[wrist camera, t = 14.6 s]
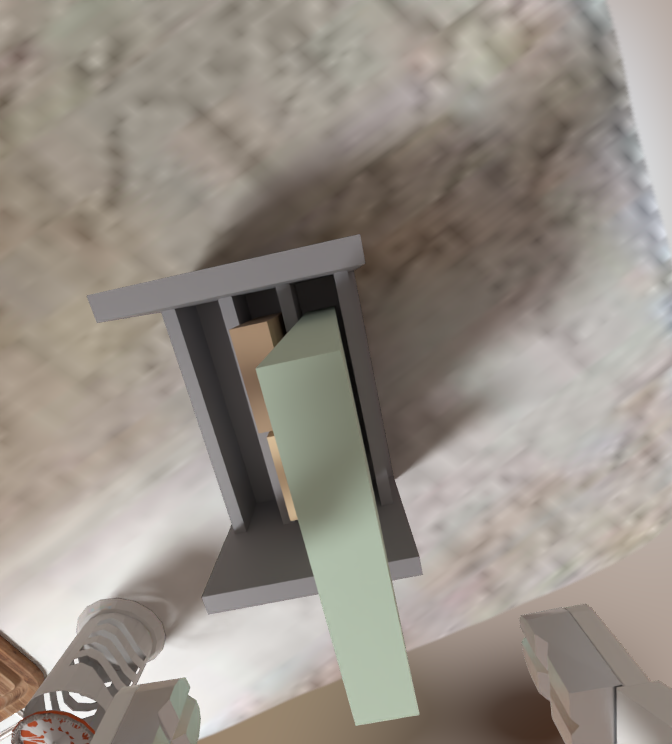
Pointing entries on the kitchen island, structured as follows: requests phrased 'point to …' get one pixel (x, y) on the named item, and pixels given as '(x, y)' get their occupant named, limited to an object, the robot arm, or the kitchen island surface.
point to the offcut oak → (281, 476)
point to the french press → (92, 671)
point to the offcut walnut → (257, 358)
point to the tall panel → (338, 513)
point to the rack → (235, 417)
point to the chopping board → (16, 682)
